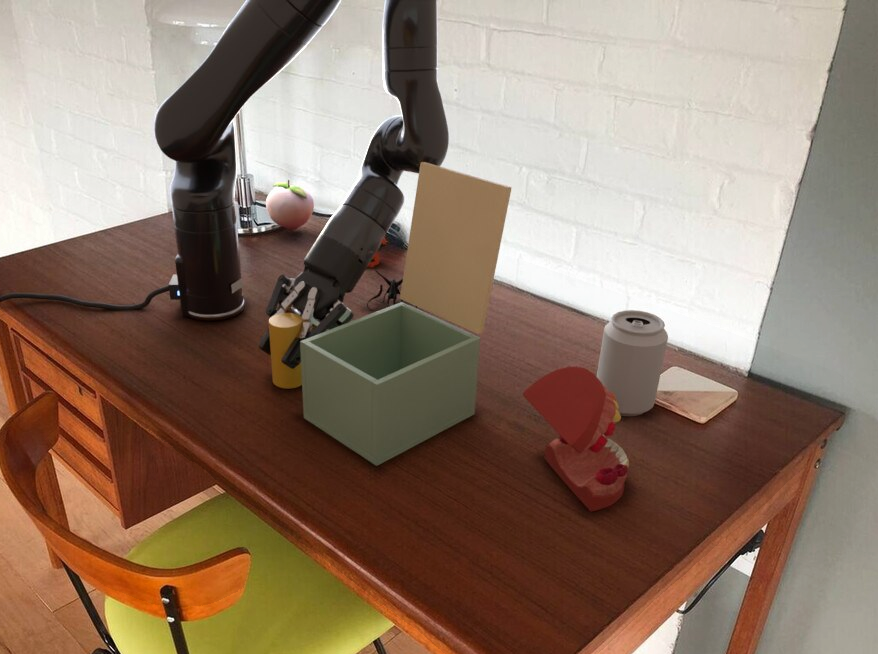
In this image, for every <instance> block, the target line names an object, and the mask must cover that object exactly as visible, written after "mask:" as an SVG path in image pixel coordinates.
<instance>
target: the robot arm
mask: <svg viewBox="0 0 878 654" xmlns="http://www.w3.org/2000/svg"><path fill="white" fill-rule="evenodd" d="M341 2H342V0H245V1H244V2H243V4H242V5H241V7H240V8H239V9H238V11H237V12H236V14H235V15H234V17H233V18H232V19H231V21H230V23H228V25H227V27H226V28H225V30H224V31H223V33H222V34H221V35H220V38H219V39H218V41H217V42H216V44H215V45H214V47H213V48H212V50H211V51H210V53H209V54H208V56H207V57H206V58H205V60H203V62H201V64H200V65H199V66H198V67H197V68H196V69H195V71H193V72H192V74H190V76H189V77H188V78H187V79H186V80H184V82H183V83H182V84H181V85H179V87H178V88H177V89H176V90H175V91H173V92H172V94H170V96H169V97H167V98H165V100H164V101H163V102H162V103H161V104H160V106H159V107H158V109H157V111H156V113H155V116H154V122H153V135H154V139H155V142H156V144H157V146H158V148H159V150H160V152H161V153H163V155H165V156H166V157H167V158H168V159H170V160H172V161H174V162H175V163H174V172H173V176H172V180H171V183H170V186H169V195H170V203H171V209H172V211H171V212H172V220H173V225H174V235H175V242H176V252H177V254H176V256H175V260H174V263H175V270H176V274H172V276H171V278H170V281H169V283H168V285H165V286H163V287H162V286H161V287H159V288H157V289H155V290H153V291H151V292H150V293H148V294H147V296H146V297H145V300H144V301H143V302H140V303H137V304H130V305H120V304H112V303H106V302H105V303H104V302H97V301H87V300H82V299H77V298H74V297H72V296H71V297H70V296H67V295H63V294H62V295H61V294H51V293H50V294H49V293H48V294H47V293H44V294H43V293H32V292H12V293H11V292H10V293H6V294H3V295H0V303H2V302H4V301H7V300H13V299H31V300H32V299H34V300H47V301H49V300H50V301H51V300H52V301H61V302H66V303H70V304H74V305H77V306H81V307H87V308H94V309H95V308H96V309H102V310H103V309H104V310H109V311H132V310H134V311H135V310H141V309H143V308H146V307H147V306H149V305H150V303H151V302H152V301H153V298H155V297H156V296H159V295H161V294H164V293H167V292H169V299H170V300H171V301H173V300H177V301H179V302H180V310H181V317H182V318H191V319H193V320H197V321H204V322H215V321H223V320H228V319H230V318H233V317H236V316H238V315H239V314H241V313H242V312H243V311H244V309H245V298H244V292H243V291H244V290H243V287H244V285H243V284H244V283H243V276H242V267H241V257H240V256H241V255H240V244H239V231H238V221H237V219H238V218H237V208H236V207H237V206H236V195H235V189H236V188H235V187H236V181H237V176H238V175H237V172H238V171H237V169H238V168H237V167H238V166H237V149H236V148H237V146H236V134H235V133H236V131H235V121H234V119H235V118H236V116H237V115H238V114H239V112H241V110H242V108H243V107H244V106H245V105H246V103H247V102H248V101H249V100H250V99H251V98H252V97H253V96H254V95H255V94H256V93H257V92H258V91H259V90H260V89H262V88H263V87H264V86H265V85H266V84H268V82H270V81H271V80H272V79H273V78H274V77H276V76H277V75H278V74H279V73H280V72H281V71H282V70H284V69H285V68H286V67H287V66H288V65H289V64H290V63H291V62H292V61H293V60H294V59H295V58H296V57H297V56H298V55H299V54H300V53H301V52H302V51H303V50H304V49H305V48H306V47H307V46H308V45H309V43H310V42H311V41H312V40H313V39H314V37H316V35H317V34H318V33H319V32H320V31H321V29H322V28H323V27H324V26H325V25H326V24H327V23H328V21H329V20H330V19H331V17H332V16H333V14H334V13H335V12H336V10H337V8H338V7H339V5H340V4H341ZM381 28H382V30H381V48H382V50H381V51H382V52H381V53H382V54H381V55H382V80H383V82H382V83H383V88H384V90H385V93H387V94H388V95H389V96H392V97H393V98H395V99H396V101H397V102H398V104H399V108H400V112H401V113H400V114H397V115H393V116H390V117H388V118H387V119H385V120H384V121H383V122H381V124H380V125H379V126H378V127H377V129H376V130H374V133H373V135H372V136H371V138H370V140H369V144H368V146H367V149H366V152H365V154H364V158H363V160H362V163H361V166H360V169H359V173H358V176H357V179H356V181H355V182H354V183H353V185H352V187H351V188H350V190H349V192H348V193H347V194H346V197H345V198H344V200H343V201H342V203H341V204H340V206H339V207H338V208H337V209H336V210H335V212H334V213H333V214H332V215H331V217H330V218H329V220H328V221H327V223H326V224H325V225H324V227H323V228H322V231H321V232H320V234H319V235H318V236H317V238H316V240H315V241H314V243H313V245H312V246H311V248H310V249H309V251H308V252H307V254H306V256H305V257H304V259H303V266H304V267H303V268H304V269H303V270H302V272H300V274H298V275H297V276H296V277H295V278H291V277H290V278H289V277H287V276H286V274H281V275H279V276H278V277H277V281H276V283H275V286H274V288H273V291H272V294H271V296H270V299H269V301H268V304H267V307H266V309H265V314H266V315H267V316H268V317H269V319H270V318H271V317H272V316H274V315H276V314H280V313H294V314H297V315H300V316H301V317H302V321H303V323H302V326H301V329H300V332H299V334H298V336H299V339H298V338H297V337H295V339H294V340H293V342H292V344H291V345H290V347H289V348H288V350H287V352H286V353H285V355H284V356H283V358H282V363H284V364H285V365H287V366H288V367H290V368H292V369H294V368H295V367H296V366H298V365H299V364H300V362H301V351H300V341H302V340H305V339H307V338H310V337H312V336H315V335H318V334H320V333H323V332H325V331H328V330H330V329H333V328H336V327H338V326H341V325H343V324H346V323H349V322H351V321H352V319H353V318H354V316H355V313H354V311H352V310H351V309H350V308H349V307H347V306H346V304H344V300H345V296H346V294H349V293H352V292H353V290H354V289H355V288H356V286H357V285H358V283H359V281H360V280H361V278H362V276H363V275H364V273H365V271H366V270H367V268H369V267H368V265H369V263H370V262H371V260H372V259H373V257H374V256H375V254H376V252H377V251H378V249H379V247H380V245H381V242H382V240H383V238H384V236H386V234H387V233H388V231H389V229H390V228H391V227H392V225H393V224H394V222H395V220H396V219H397V217H398V215H399V214H400V212H401V210H402V208H403V206H404V204H405V195H404V192H403V191H402V189H401V188H400V186H398V184H399V181H400V178H401V177H402V175H403V173H404V172H408V173H413V174H418V175H419V170H420V164H421V162H426V163H430V164H433V165H437V166H440V167H442V165H443V163H444V162H445V159H446V157H447V154H448V151H449V147H450V146H449V145H450V131H449V124H448V120H447V115H446V111H445V106H444V100H443V97H442V93H441V90H440V86H439V82H438V71H439V70H438V66H439V65H438V63H439V62H438V61H439V60H438V59H439V57H438V55H439V53H438V51H439V50H438V47H439V46H438V45H439V43H438V42H439V41H438V37H439V36H438V35H439V34H438V32H439V31H438V30H439V29H438V0H384V6H383V14H382V27H381ZM378 252H379V251H378ZM258 348H259V350H261V351H262V352H264V353H265V354H267V355H269V356H271V349H270V335H269V327H268V328H267V330H266V332H265V333H264V335H263V336H262V338H261V339H260V342H259V345H258Z"/></svg>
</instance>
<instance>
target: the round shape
mask: <svg viewBox="0 0 878 654" xmlns="http://www.w3.org/2000/svg"><path fill="white" fill-rule="evenodd" d="M302 323H303V321H302V317H301V316H300V315H297V314H294V313H280V314H276V315H274V316H272V317H271V318H270V317H269V319H268V328H269V335H270V349H271V355H270V362H271V377H272V383H273V385H274V386H275V387H278V388H279V389H280V388H281V389H295V388H299V387H302V371H301V362H300V364H299V365H298V366H296V367H295V368H294V369H292V368H290V367H288V366H287V365H285V364H284V363H282V358H283V356H284V355H285V353H286V352H287V350H288V348H289V347H290V345H291V344H292V342H293V340H294V339H295V337H297V338H298V339H299V336H298V334H299V332H300V329H301V326H302Z"/></svg>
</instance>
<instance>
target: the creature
mask: <svg viewBox="0 0 878 654" xmlns="http://www.w3.org/2000/svg"><path fill="white" fill-rule="evenodd" d="M374 272H375V273H377V274H378V276H379V277H381V278H382V279H383V280H384V281H385V283H386V284H387V285H388V288H387V289H386V292H385V294H384V295H383V297H382V301H381V302H379V304H380V306H379V307H375V308H374V309H371V308H369V303H370V302H371V301H373V300H375V299H377V298H379V297H380V296H381V295H382V293H383V290H384V289H383V288H384V287H383V284H380V285H379V287H380V289H379V290H378V291H379V292H378V293H377V294H376V295H375V296H373V297H371V298H370V299H369V300H367V301H368V302H367V303H366V307H367V308H366V309H368V310H369V311H371V312H372V311H375V310H377V309H380V308H385V306H384V305H382V304H383V303H385V301H386V308H387V307H390V300H392V306H393V305H395V304H396V301H397V298H398V295H399V296H400V295H401V290H400V288H398V287H400V286H402V282H403V278H401V279H400V280H398V281H397V280H396V279H395V278H394V279H391V280H389V279H387V278H386V277H385V276H384V275H382V274H381V273H380V272H379V271H378V270H374ZM386 296H387V299H386ZM385 299H386V300H385ZM400 302H403V303H404V300H402V299H400ZM381 303H382V304H381ZM415 308H416V309H418V307H417V306H415Z"/></svg>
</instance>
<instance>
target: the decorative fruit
mask: <svg viewBox="0 0 878 654" xmlns="http://www.w3.org/2000/svg"><path fill="white" fill-rule="evenodd" d="M272 187H273V189H272V190H271V191H270V192H269V194H268V195H267V197H266V200H265V208H266V212H267V214H268V216H269V218H270V219H271V220H272V221H273V223H275V224H276V225H277V226H279V227H283V228H284V229H287V230H289V231H290V232H292V231H294V230H297V229H299V228H301V227H302V226H304V225H305V224H306V223H307V222H309V220H310V219H311V217H312V215H313V213H314V208H315V203H314V198H313V196H312V195H311V193H310V192H309V191H308V190H307V189H305V188H303V187H300V186H297V185H291V184H290V179H288V180H287V182H286V181H280V182H275V183H273V185H272Z"/></svg>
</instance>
